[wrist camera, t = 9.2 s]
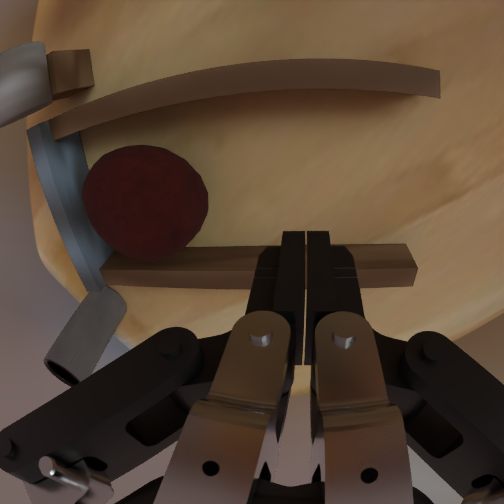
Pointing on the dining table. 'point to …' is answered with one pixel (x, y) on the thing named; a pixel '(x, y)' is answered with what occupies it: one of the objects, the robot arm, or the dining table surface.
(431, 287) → the dining table surface
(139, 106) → the bay
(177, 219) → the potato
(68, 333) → the grey tube
